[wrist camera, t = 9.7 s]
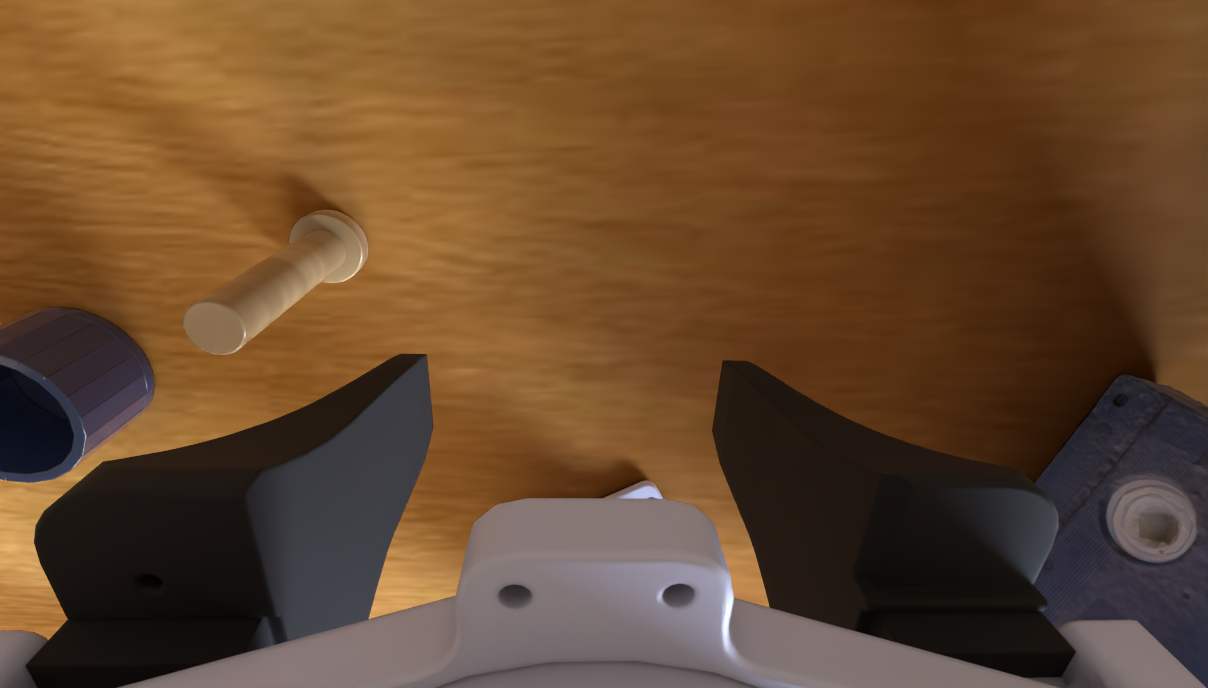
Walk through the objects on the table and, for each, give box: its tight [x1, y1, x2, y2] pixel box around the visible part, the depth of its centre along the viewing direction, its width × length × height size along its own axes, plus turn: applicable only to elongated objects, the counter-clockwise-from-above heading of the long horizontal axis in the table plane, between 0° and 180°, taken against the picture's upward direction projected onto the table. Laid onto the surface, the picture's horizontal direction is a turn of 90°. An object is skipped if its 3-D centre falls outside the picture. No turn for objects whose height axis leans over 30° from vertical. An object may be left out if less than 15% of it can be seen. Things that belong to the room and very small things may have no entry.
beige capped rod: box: [183, 210, 368, 355], centre depth 18 cm, size 3×3×8 cm
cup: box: [0, 307, 154, 483], centre depth 22 cm, size 5×5×4 cm
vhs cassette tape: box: [1033, 375, 1208, 688], centre depth 25 cm, size 18×3×10 cm, turn 161°
